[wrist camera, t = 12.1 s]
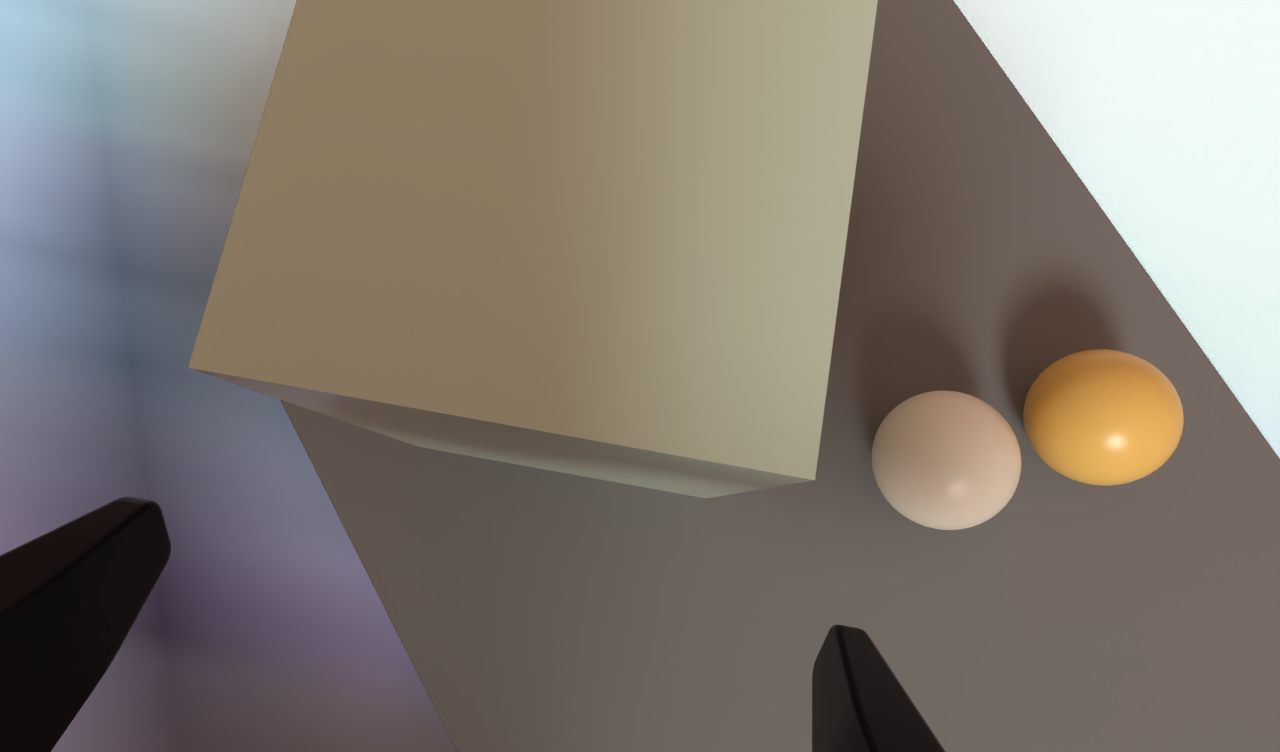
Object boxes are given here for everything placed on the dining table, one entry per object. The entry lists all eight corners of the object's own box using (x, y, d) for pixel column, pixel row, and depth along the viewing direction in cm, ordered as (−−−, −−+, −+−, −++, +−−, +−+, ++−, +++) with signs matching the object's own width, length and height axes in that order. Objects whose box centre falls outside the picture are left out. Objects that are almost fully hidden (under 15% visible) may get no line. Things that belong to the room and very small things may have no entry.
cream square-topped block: (749, 226, 19) (886, -65, 9) (706, 498, 17) (815, 479, 8) (480, 178, 19) (345, -163, 9) (417, 446, 17) (188, 367, 8)
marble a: (1002, 488, 18) (1081, 482, 15) (898, 553, 17) (957, 561, 14) (932, 379, 18) (995, 352, 15) (829, 440, 18) (872, 425, 15)
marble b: (1145, 448, 18) (1250, 435, 15) (1045, 511, 18) (1133, 511, 15) (1073, 342, 18) (1160, 309, 15) (973, 402, 18) (1045, 379, 15)
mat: (1456, 741, 17) (1486, 749, 17) (731, 1280, 15) (736, 1311, 14) (897, -51, 21) (905, -67, 20) (232, 285, 18) (219, 278, 18)
